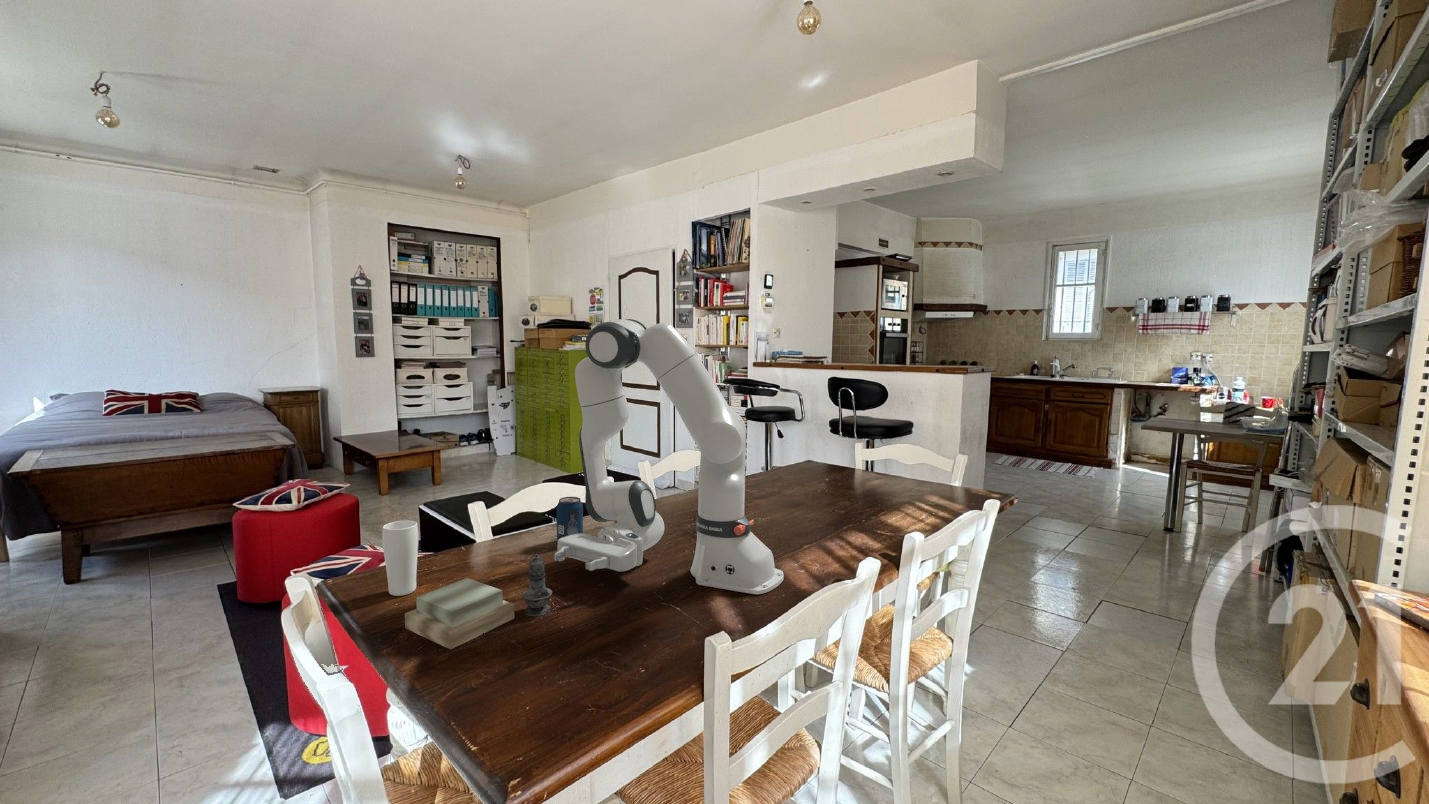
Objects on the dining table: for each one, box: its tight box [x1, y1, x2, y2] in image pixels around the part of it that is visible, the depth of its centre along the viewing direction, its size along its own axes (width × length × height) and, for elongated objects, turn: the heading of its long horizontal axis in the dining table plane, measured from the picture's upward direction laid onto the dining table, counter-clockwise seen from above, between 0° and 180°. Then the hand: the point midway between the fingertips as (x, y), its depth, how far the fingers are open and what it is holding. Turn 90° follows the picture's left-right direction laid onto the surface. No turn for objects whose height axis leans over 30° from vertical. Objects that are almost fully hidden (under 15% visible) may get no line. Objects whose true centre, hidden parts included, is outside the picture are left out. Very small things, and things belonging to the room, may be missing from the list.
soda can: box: [556, 496, 584, 541], centre depth 159 cm, size 7×7×12 cm
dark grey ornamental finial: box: [521, 553, 553, 617], centre depth 119 cm, size 6×6×12 cm
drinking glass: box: [382, 519, 419, 597], centre depth 126 cm, size 7×7×15 cm
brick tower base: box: [404, 577, 515, 650], centre depth 113 cm, size 14×14×6 cm
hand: (571, 562), depth 127 cm, fingers open, 8 cm apart
